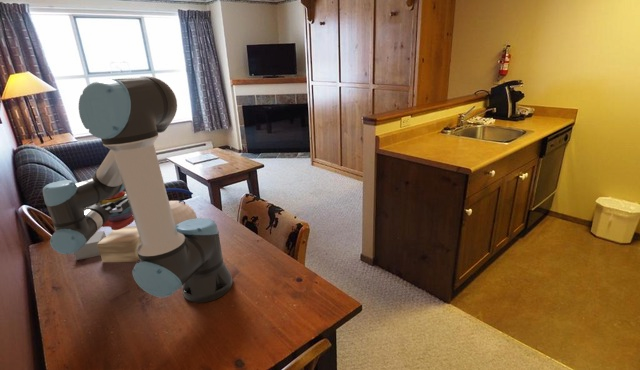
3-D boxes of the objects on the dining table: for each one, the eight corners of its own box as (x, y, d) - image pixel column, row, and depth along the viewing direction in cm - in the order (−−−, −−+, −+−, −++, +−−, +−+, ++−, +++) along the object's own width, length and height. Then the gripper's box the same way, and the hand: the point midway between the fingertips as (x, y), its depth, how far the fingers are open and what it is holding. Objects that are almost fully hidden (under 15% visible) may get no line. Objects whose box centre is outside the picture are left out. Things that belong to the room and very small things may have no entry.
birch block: (137, 261, 125) (132, 242, 122) (102, 262, 125) (96, 243, 122) (154, 243, 137) (149, 226, 134) (122, 244, 137) (117, 226, 135)
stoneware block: (103, 254, 130) (99, 241, 128) (76, 260, 127) (71, 246, 125) (108, 244, 138) (104, 231, 136) (82, 248, 135) (78, 235, 133)
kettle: (148, 223, 155) (139, 186, 148) (196, 213, 163) (189, 177, 156) (148, 242, 138) (137, 202, 131) (201, 230, 145) (193, 191, 139)
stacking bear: (98, 225, 125) (84, 180, 118) (123, 214, 133) (112, 171, 127) (116, 231, 120) (103, 184, 114) (141, 219, 128) (130, 175, 122)
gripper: (57, 234, 106) (91, 205, 127) (129, 226, 109) (151, 199, 130) (49, 212, 104) (85, 186, 125) (123, 205, 106) (147, 181, 127)
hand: (119, 193), depth 127 cm, fingers closed on stacking bear, 9 cm apart
